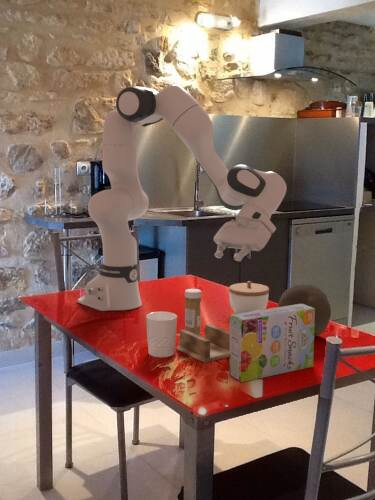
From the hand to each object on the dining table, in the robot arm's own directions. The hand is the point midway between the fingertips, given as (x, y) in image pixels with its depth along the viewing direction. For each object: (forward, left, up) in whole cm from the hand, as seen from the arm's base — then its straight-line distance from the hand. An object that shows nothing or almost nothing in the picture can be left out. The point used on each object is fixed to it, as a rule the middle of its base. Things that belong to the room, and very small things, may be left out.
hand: (226, 258), depth 166 cm
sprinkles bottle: (-4, -11, -21) cm, 24 cm away
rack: (+6, -19, -21) cm, 29 cm away
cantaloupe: (+21, +8, -21) cm, 31 cm away
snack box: (+26, -21, -21) cm, 39 cm away
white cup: (-3, -27, -21) cm, 34 cm away
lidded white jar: (-2, +17, -21) cm, 27 cm away
